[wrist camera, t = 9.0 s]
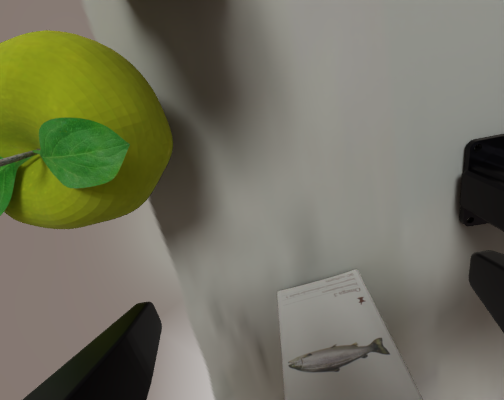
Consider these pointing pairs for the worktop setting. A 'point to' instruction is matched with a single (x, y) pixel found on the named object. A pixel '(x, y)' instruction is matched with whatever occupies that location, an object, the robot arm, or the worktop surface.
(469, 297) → the worktop surface
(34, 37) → the fruit
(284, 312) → the supplement box
